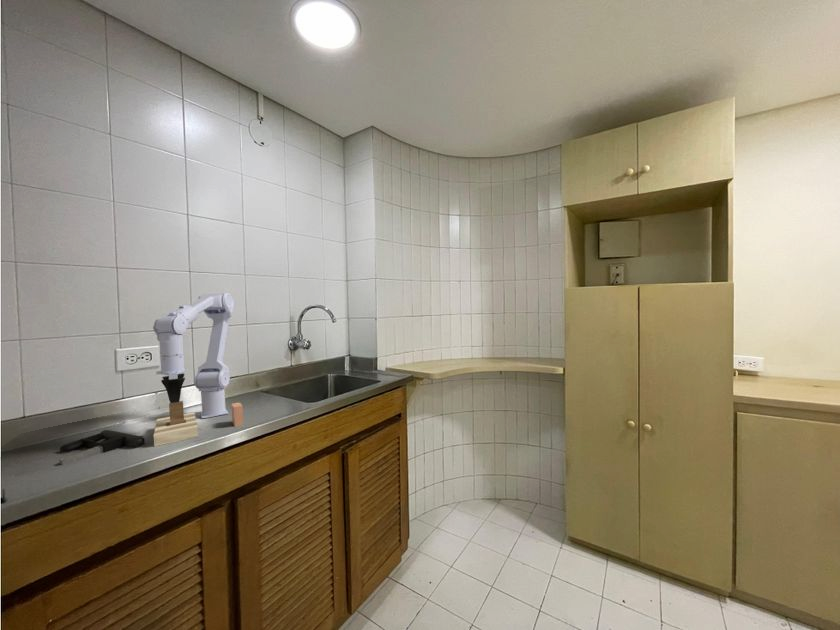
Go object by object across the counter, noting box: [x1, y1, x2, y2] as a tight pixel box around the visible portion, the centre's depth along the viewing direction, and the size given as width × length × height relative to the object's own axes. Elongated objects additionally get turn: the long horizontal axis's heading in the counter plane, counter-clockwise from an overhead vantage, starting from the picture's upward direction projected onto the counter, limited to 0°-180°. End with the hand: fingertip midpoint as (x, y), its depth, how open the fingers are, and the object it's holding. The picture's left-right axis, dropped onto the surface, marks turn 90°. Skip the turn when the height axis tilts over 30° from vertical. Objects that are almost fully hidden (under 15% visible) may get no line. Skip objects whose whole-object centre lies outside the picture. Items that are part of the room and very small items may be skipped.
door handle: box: [58, 429, 148, 466], centre depth 92 cm, size 3×20×16 cm
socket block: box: [153, 412, 199, 447], centre depth 104 cm, size 20×10×3 cm, turn 36°
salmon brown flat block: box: [231, 402, 244, 427], centre depth 110 cm, size 6×2×6 cm, turn 36°
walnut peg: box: [168, 400, 185, 426], centre depth 104 cm, size 3×3×9 cm
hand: (174, 400), depth 103 cm, fingers open, 7 cm apart
